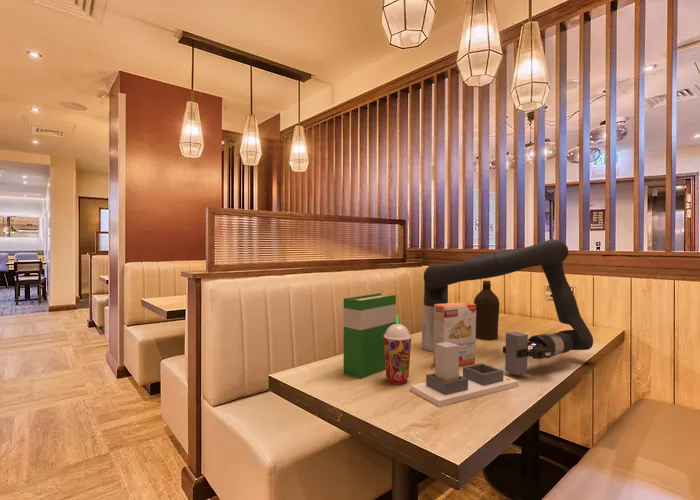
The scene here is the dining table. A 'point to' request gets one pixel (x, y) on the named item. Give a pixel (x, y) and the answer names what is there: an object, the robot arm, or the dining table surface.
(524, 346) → the charcoal plug
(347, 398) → the dining table surface
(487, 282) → the olive oil
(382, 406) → the dining table surface
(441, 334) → the cracker box
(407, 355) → the smoothie
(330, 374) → the dining table surface
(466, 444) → the dining table surface
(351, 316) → the hardback book
